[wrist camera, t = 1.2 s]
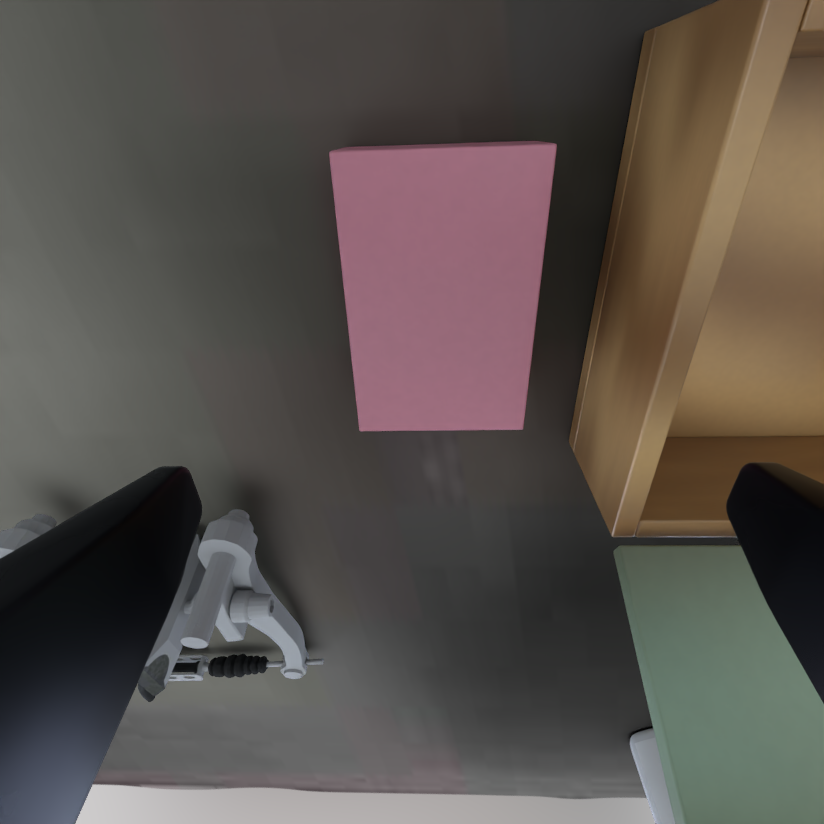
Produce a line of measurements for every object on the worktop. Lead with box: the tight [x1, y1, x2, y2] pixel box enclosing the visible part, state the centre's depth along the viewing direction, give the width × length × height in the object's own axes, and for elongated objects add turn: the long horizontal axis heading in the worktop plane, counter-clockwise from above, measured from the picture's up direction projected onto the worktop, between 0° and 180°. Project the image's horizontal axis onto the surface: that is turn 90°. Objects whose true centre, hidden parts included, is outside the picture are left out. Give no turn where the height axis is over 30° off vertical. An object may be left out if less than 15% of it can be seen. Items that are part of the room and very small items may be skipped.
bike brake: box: [0, 509, 324, 702], centre depth 25 cm, size 14×7×20 cm
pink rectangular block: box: [329, 141, 557, 431], centre depth 16 cm, size 6×9×3 cm, turn 2°
